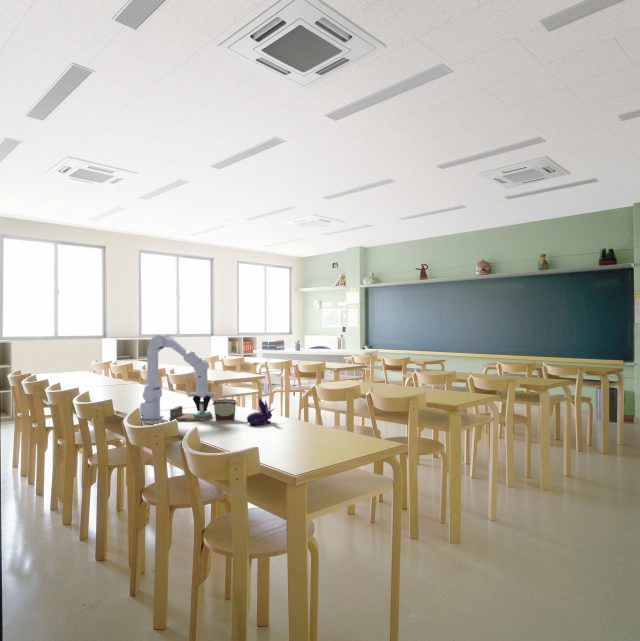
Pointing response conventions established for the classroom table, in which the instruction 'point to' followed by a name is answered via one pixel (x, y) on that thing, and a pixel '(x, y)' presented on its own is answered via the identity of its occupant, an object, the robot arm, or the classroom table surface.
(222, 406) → the food container
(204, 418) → the bench base
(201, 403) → the teal plate with post
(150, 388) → the robot arm
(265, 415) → the creature
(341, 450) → the classroom table surface
